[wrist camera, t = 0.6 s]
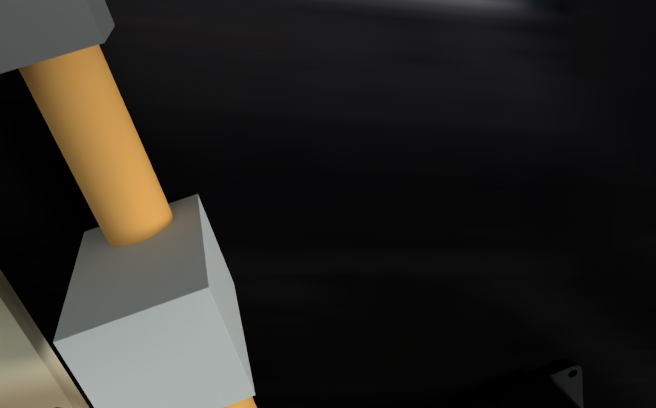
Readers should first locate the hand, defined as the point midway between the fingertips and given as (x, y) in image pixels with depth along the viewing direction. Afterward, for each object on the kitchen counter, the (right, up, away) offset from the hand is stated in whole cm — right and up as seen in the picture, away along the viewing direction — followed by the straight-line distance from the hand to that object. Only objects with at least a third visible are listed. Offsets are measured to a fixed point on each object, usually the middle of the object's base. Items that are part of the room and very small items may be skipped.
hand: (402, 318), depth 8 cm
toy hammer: (-7, 0, +13) cm, 14 cm away
